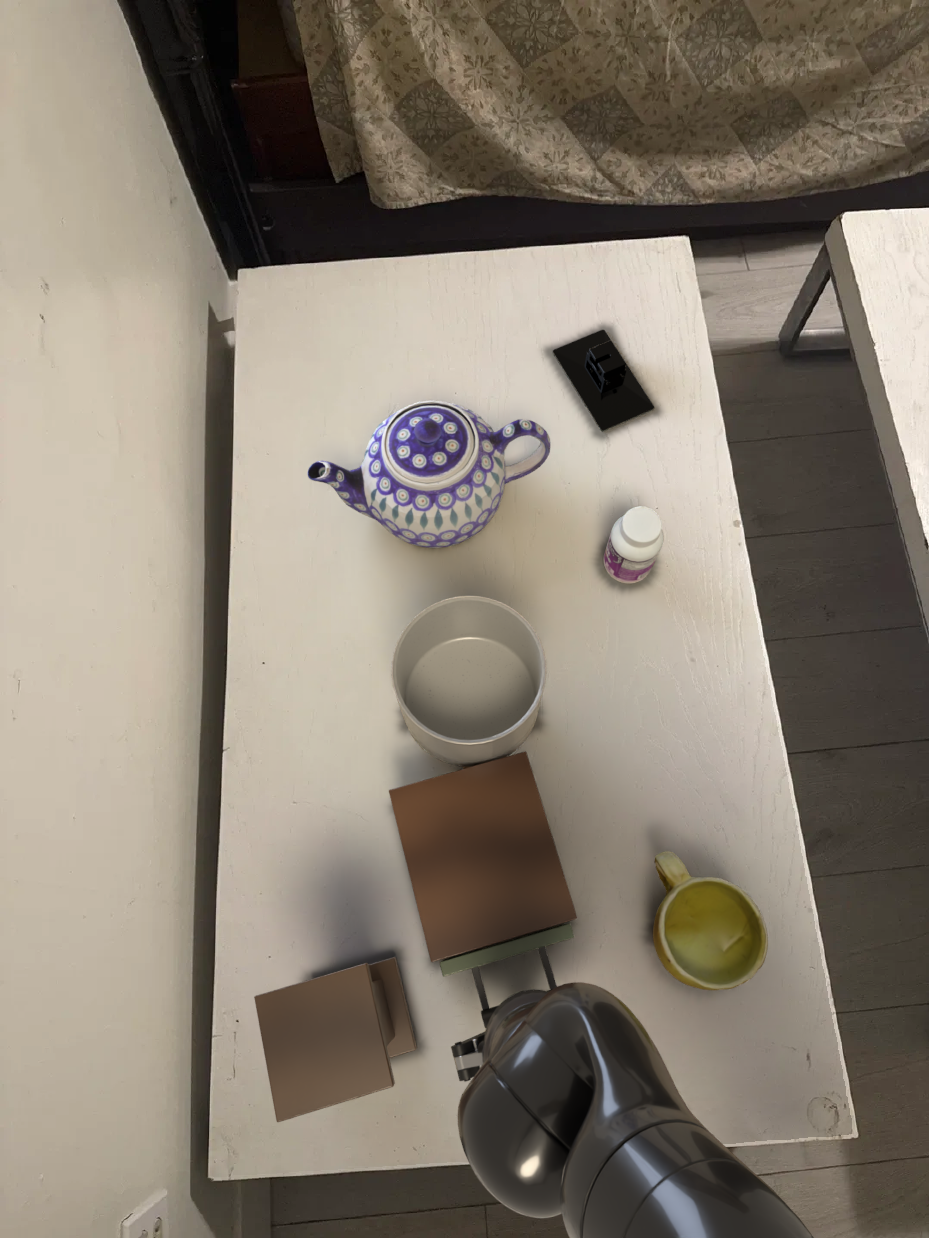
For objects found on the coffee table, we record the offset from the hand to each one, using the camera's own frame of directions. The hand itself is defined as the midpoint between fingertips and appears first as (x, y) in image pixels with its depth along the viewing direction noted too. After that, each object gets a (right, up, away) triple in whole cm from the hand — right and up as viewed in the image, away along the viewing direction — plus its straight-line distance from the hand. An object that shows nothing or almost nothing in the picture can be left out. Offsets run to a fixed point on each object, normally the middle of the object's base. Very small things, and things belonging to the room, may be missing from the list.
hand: (527, 1028), depth 75 cm
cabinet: (-4, +12, +10) cm, 16 cm away
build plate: (+11, +63, +28) cm, 70 cm away
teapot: (-9, +48, +23) cm, 54 cm away
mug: (+16, +7, +8) cm, 19 cm away
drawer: (-3, +8, +7) cm, 11 cm away
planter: (-5, +25, +15) cm, 29 cm away
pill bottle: (+12, +41, +20) cm, 48 cm away
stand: (-15, -1, +5) cm, 16 cm away
